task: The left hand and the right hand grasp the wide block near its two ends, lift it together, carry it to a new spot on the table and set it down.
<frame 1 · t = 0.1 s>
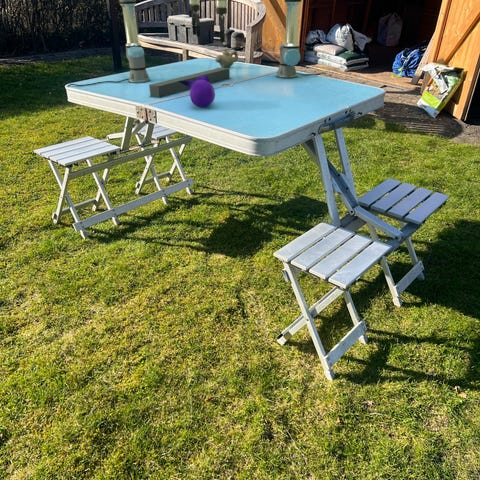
left hand: (196, 35, 349), 28 cm above the table, tool pointing down, fingers open, 13 cm apart
right hand: (222, 41, 316), 28 cm above the table, tool pointing down, fingers open, 13 cm apart
wide block: (193, 86, 318), on the table
toy: (199, 105, 272), on the table
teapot: (226, 68, 382), on the table
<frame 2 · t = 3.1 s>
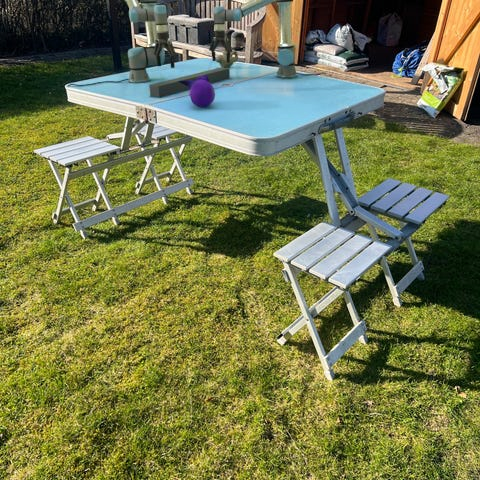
left hand: (166, 67, 299), 16 cm above the table, tool pointing down, fingers open, 13 cm apart
right hand: (221, 61, 335), 12 cm above the table, tool pointing down, fingers open, 13 cm apart
nothing on the table moved.
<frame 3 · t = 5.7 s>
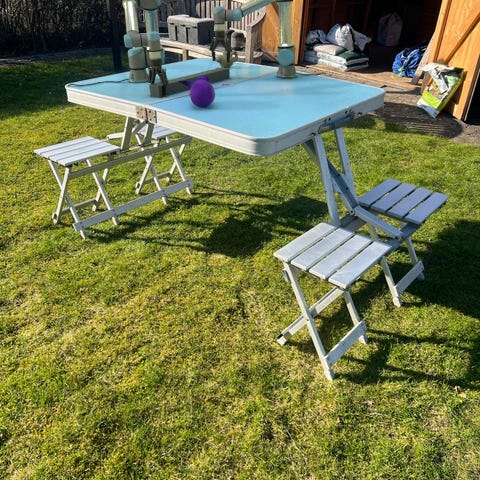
left hand: (159, 95, 296), 0 cm above the table, tool pointing down, fingers closed on wide block, 9 cm apart
right hand: (221, 61, 335), 12 cm above the table, tool pointing down, fingers open, 13 cm apart
wide block: (193, 86, 318), on the table, touching left hand
everything else where it was.
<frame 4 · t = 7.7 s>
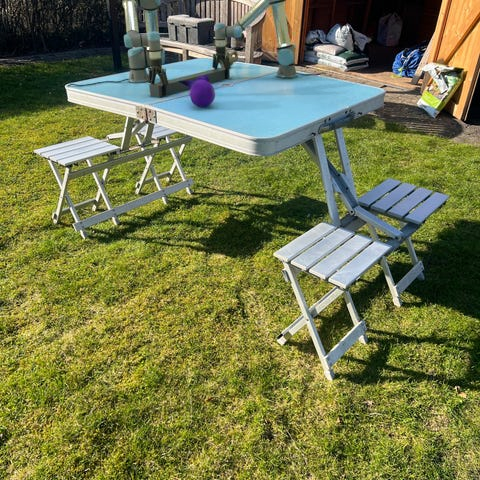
left hand: (159, 95, 296), 0 cm above the table, tool pointing down, fingers closed on wide block, 9 cm apart
right hand: (221, 78, 341), 0 cm above the table, tool pointing down, fingers closed on wide block, 9 cm apart
wide block: (193, 86, 318), on the table, touching left hand, right hand
everything else where it was.
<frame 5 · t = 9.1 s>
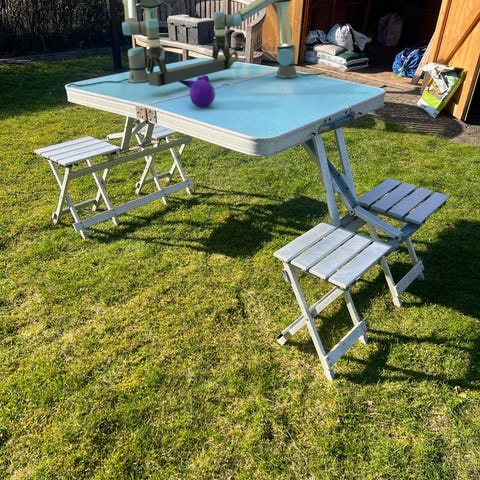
left hand: (158, 83, 292), 8 cm above the table, tool pointing down, fingers closed on wide block, 9 cm apart
right hand: (221, 68, 337), 8 cm above the table, tool pointing down, fingers closed on wide block, 9 cm apart
wide block: (192, 76, 315), point 7 cm above the table, touching left hand, right hand
everything else where it was.
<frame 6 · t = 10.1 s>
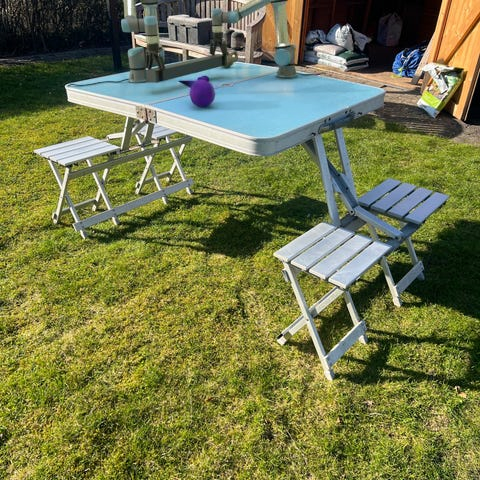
left hand: (156, 80, 298), 9 cm above the table, tool pointing down, fingers closed on wide block, 9 cm apart
right hand: (219, 64, 342), 9 cm above the table, tool pointing down, fingers closed on wide block, 9 cm apart
wide block: (190, 72, 320), point 8 cm above the table, touching left hand, right hand
everything else where it was.
when the left hand's fingers open (2 cm above the table, at t = 12.7 s): wide block drops 2 cm, on the table.
when the right hand's fingers open (2 cm above the table, at t = 12.7 s): wide block drops 2 cm, on the table.
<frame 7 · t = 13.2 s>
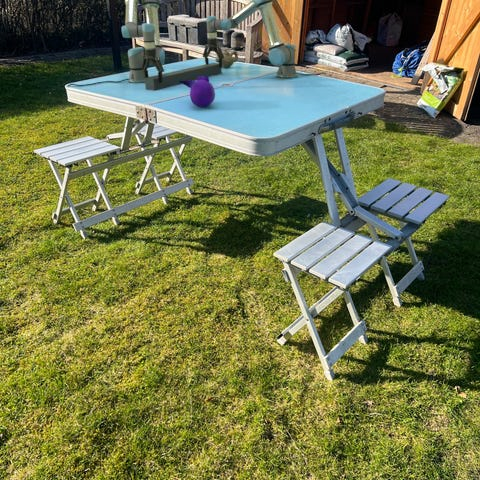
left hand: (153, 81, 314), 5 cm above the table, tool pointing down, fingers open, 13 cm apart
right hand: (213, 67, 358), 5 cm above the table, tool pointing down, fingers open, 13 cm apart
wide block: (186, 80, 338), on the table
everything else where it was.
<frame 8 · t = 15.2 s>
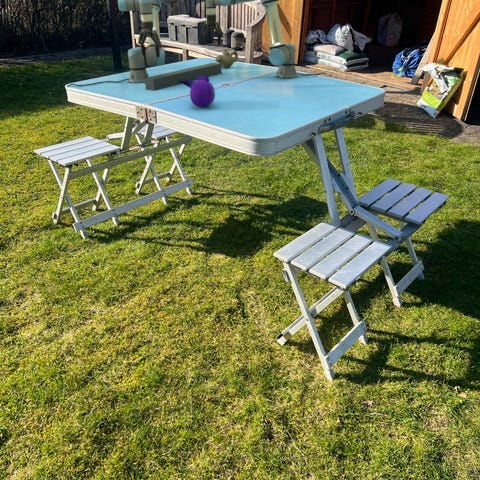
left hand: (151, 56, 305), 21 cm above the table, tool pointing down, fingers open, 13 cm apart
right hand: (212, 45, 350), 21 cm above the table, tool pointing down, fingers open, 13 cm apart
nothing on the table moved.
at the end: wide block inside the target area (0.1 cm from its centre), on the table; wide block tilted 0°; wide block never tilted more than 1° during the clip; both hands held the wide block at the same time; the left hand is holding nothing; the right hand is holding nothing; wide block at rest at the end (0.0 cm/s) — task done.
